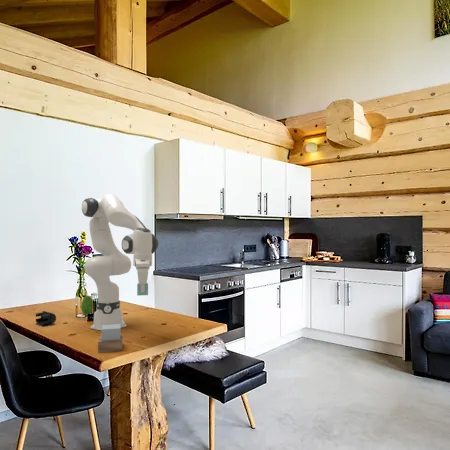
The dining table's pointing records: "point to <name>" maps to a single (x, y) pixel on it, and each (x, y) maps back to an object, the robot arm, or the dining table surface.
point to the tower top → (111, 332)
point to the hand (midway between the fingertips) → (142, 290)
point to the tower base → (110, 345)
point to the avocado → (86, 305)
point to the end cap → (45, 319)
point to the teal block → (140, 289)
